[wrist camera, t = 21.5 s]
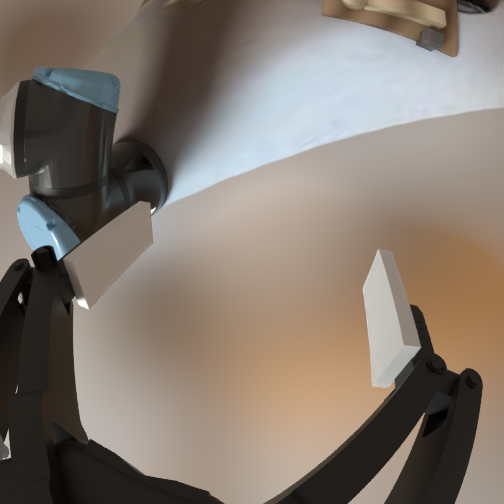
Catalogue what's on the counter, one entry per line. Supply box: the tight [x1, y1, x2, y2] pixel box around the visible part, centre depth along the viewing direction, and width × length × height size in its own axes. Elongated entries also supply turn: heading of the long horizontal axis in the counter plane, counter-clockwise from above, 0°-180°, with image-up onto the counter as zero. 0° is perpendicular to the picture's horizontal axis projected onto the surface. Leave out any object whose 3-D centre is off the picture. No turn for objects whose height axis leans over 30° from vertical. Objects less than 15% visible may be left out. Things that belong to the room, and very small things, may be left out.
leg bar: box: [340, 0, 446, 30], centre depth 19 cm, size 14×4×4 cm, turn 90°
